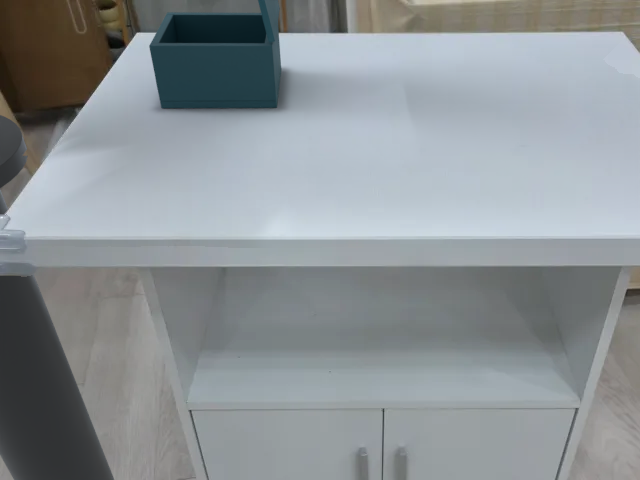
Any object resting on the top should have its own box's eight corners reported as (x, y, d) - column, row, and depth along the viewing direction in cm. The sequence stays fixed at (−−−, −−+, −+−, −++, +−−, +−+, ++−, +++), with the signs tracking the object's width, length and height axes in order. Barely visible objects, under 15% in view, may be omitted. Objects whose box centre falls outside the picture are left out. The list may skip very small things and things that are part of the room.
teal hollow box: (161, 108, 88) (148, 45, 82) (177, 70, 97) (167, 12, 92) (276, 108, 89) (272, 45, 83) (281, 70, 98) (277, 12, 93)
